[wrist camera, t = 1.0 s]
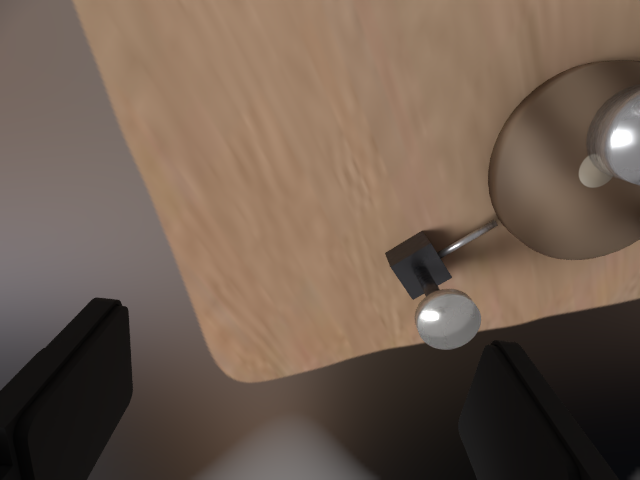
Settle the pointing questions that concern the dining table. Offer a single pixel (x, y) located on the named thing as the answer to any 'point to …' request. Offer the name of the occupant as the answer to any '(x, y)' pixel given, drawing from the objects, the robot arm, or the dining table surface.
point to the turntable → (564, 168)
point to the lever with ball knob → (436, 290)
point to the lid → (617, 136)
